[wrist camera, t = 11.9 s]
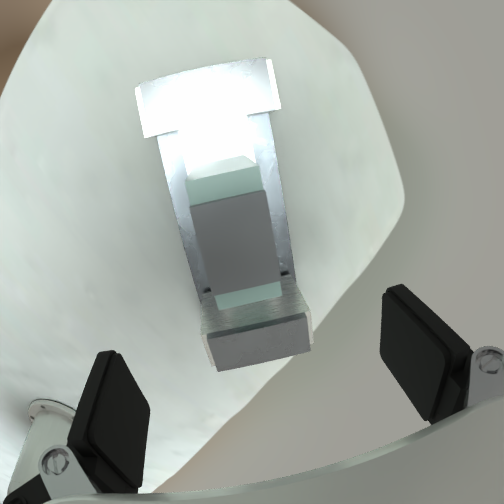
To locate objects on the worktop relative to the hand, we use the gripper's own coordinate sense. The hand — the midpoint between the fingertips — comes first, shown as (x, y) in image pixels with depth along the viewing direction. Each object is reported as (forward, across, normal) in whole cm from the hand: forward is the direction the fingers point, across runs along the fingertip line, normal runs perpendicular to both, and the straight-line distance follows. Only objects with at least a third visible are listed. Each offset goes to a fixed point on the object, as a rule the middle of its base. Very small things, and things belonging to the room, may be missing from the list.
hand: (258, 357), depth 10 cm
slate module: (+20, 0, 0) cm, 20 cm away
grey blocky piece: (+21, 0, 0) cm, 21 cm away
